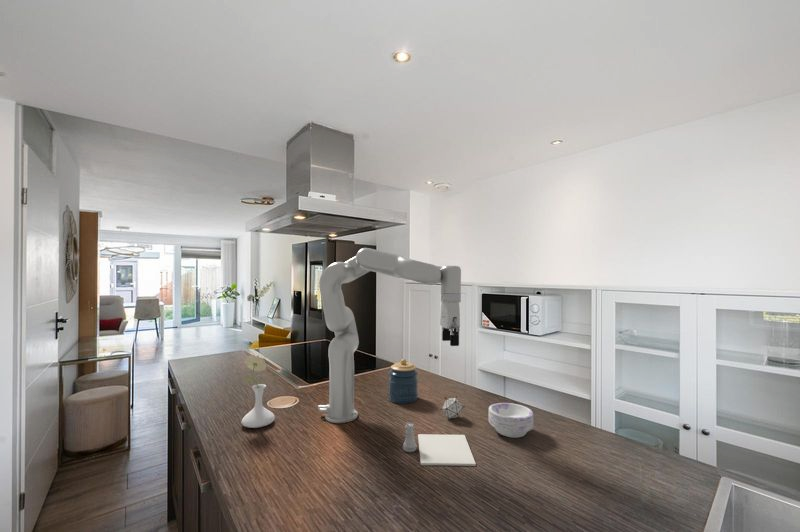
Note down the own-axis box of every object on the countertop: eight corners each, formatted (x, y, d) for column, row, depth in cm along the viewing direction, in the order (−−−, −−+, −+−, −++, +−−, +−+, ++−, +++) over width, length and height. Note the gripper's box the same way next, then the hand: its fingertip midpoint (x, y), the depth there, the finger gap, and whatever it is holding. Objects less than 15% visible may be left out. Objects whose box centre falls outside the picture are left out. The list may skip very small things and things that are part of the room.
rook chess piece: (402, 446, 112) (402, 421, 112) (415, 445, 112) (416, 420, 112) (403, 453, 107) (403, 427, 107) (417, 452, 108) (417, 426, 108)
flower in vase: (281, 421, 129) (282, 354, 130) (257, 433, 119) (258, 361, 120) (256, 414, 135) (257, 350, 135) (230, 426, 125) (232, 356, 125)
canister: (383, 401, 150) (384, 360, 150) (395, 392, 162) (395, 354, 162) (411, 406, 145) (412, 364, 146) (421, 396, 157) (421, 357, 158)
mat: (420, 465, 101) (420, 462, 101) (417, 435, 119) (418, 434, 119) (475, 465, 100) (475, 463, 100) (464, 436, 118) (464, 434, 118)
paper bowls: (501, 419, 133) (501, 398, 133) (540, 432, 122) (540, 409, 122) (480, 431, 122) (480, 409, 123) (520, 447, 112) (520, 422, 112)
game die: (456, 429, 132) (464, 414, 126) (435, 419, 134) (442, 404, 128) (461, 410, 139) (469, 396, 134) (441, 401, 141) (448, 386, 135)
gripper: (434, 296, 139) (434, 339, 139) (448, 299, 122) (448, 348, 122) (452, 296, 141) (452, 338, 140) (468, 299, 124) (468, 347, 123)
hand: (450, 343), depth 131 cm, fingers open, 9 cm apart
